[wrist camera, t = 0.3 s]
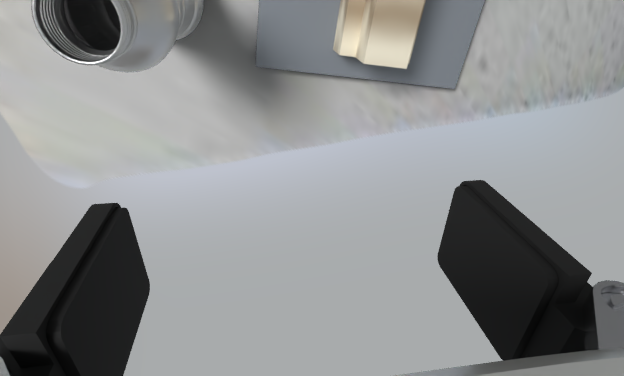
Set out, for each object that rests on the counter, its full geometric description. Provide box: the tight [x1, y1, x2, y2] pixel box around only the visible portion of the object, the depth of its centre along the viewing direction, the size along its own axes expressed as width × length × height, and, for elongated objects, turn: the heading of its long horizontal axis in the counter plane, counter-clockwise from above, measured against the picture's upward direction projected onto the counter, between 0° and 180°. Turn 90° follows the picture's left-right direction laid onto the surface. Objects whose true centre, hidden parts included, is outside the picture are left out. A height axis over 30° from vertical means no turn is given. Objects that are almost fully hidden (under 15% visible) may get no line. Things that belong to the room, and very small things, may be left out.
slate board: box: [255, 0, 485, 89], centre depth 34 cm, size 14×22×1 cm, turn 82°
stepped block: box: [333, 0, 426, 69], centre depth 31 cm, size 9×7×6 cm
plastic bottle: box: [31, 0, 204, 72], centre depth 24 cm, size 6×7×20 cm
